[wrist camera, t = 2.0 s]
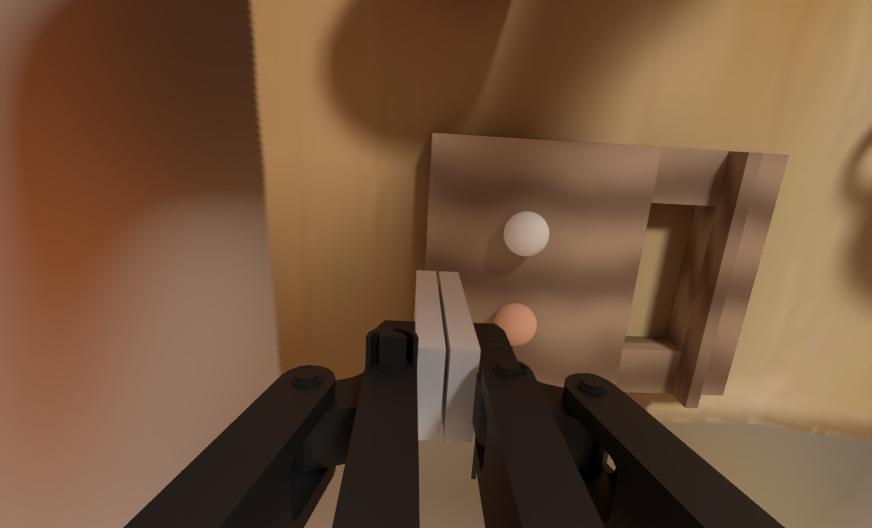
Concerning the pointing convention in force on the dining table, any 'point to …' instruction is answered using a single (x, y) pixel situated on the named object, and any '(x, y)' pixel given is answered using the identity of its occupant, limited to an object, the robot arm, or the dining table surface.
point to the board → (603, 251)
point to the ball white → (526, 233)
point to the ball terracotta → (517, 323)
